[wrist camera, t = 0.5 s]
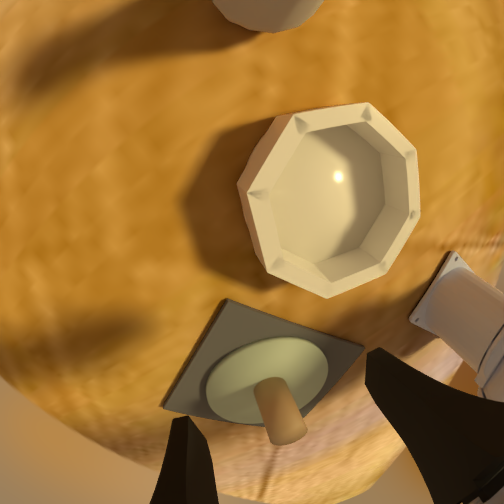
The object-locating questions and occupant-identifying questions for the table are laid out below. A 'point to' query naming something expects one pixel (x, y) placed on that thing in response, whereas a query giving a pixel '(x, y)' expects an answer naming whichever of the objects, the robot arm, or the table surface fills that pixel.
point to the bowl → (330, 197)
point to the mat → (241, 333)
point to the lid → (268, 385)
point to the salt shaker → (268, 13)
